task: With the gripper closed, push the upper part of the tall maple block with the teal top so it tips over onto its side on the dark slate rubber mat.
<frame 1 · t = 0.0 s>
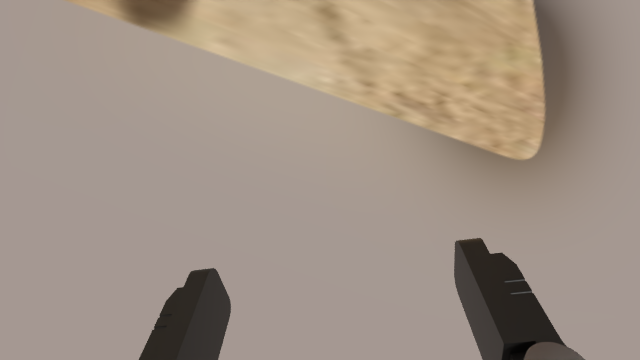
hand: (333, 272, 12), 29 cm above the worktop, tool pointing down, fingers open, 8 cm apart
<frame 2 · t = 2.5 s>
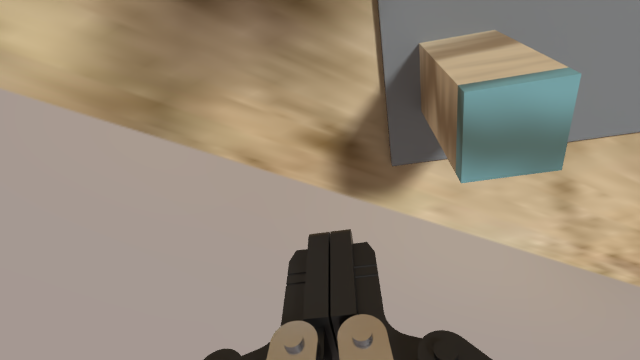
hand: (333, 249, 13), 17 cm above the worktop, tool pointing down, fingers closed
slate mat: (533, 57, 26), on the worktop
maple block: (455, 72, 26), resting on slate mat
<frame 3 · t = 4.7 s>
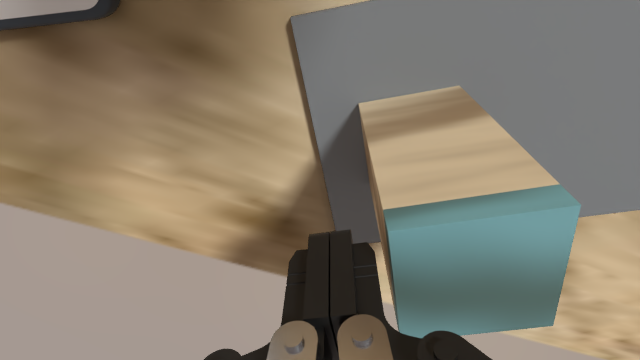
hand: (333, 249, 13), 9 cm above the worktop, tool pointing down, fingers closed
slate mat: (514, 118, 19), on the worktop
maple block: (410, 139, 20), point 1 cm above the worktop, touching gripper, slate mat
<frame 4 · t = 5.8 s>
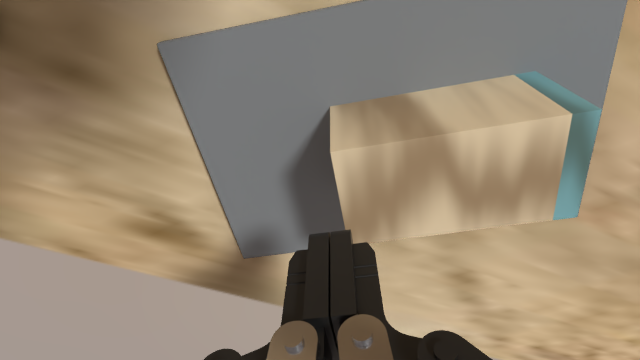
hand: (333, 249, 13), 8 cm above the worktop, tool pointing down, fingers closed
slate mat: (391, 136, 20), on the worktop
maple block: (338, 172, 18), point 3 cm above the worktop, tilted 90°, touching slate mat
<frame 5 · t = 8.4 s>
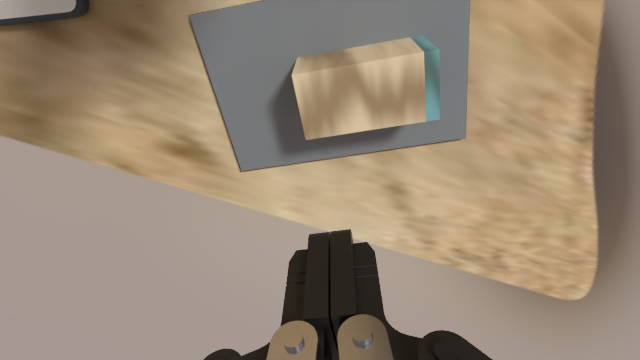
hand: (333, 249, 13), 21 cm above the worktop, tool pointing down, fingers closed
slate mat: (338, 80, 31), on the worktop
maple block: (301, 97, 29), point 3 cm above the worktop, tilted 90°, touching slate mat
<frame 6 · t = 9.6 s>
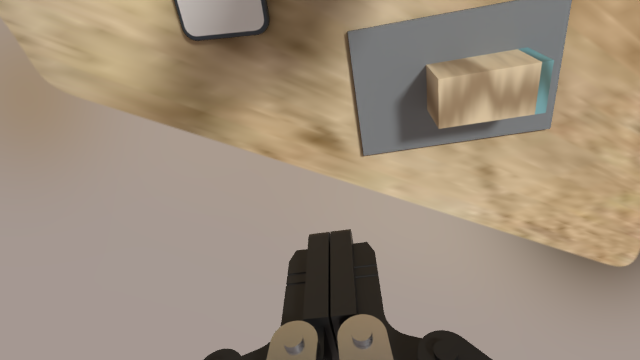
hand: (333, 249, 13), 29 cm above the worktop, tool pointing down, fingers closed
slate mat: (454, 82, 39), on the worktop
maple block: (432, 96, 37), point 3 cm above the worktop, tilted 90°, touching slate mat
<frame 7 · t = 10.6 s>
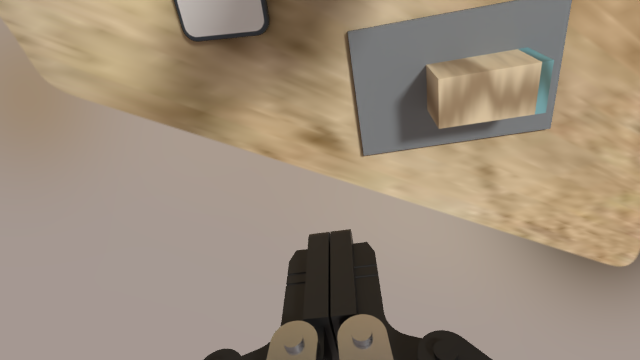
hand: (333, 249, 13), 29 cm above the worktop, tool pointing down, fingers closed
slate mat: (454, 82, 39), on the worktop
maple block: (432, 96, 37), point 3 cm above the worktop, tilted 90°, touching slate mat
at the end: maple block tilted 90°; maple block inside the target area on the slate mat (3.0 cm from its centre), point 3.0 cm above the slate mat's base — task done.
